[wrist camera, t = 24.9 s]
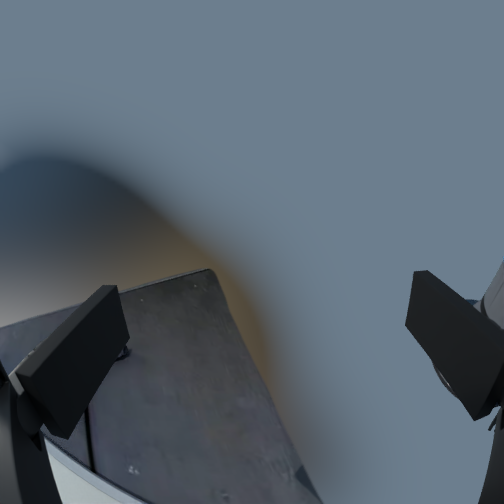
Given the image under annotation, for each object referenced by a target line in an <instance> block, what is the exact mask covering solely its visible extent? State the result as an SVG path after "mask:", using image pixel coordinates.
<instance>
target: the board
mask: <svg viewBox="0 0 504 504" xmlns="http://www.w3.org/2000/svg"><path fill="white" fill-rule="evenodd" d="M44 439H45V444H46V448H47V452H48V456H49V460H50V464H51V468H52V472H53V475H54V479H55V482H56V485H57V488H58V491H59V494H60V497H61V500H62V503H63V504H148V503H146V502H144V501H142V500H140V499H138V498H136V497H134V496H132V495H130V494H129V493H127V492H125V491H123V490H121V489H120V488H118V487H116V486H114V485H113V484H111V483H109V482H108V481H106V480H104V479H103V478H101V477H100V476H98V475H96V474H95V473H93V472H92V471H90V470H89V469H87V468H86V467H84V466H83V465H81V464H80V463H79V462H77V461H76V460H74V459H73V458H72V457H70V456H69V455H67V454H66V453H65V452H63V451H62V450H61V449H59V448H58V447H57V446H56V445H54V444H53V443H52V442H51V441H49V440H48V439H47V438H46V437H45V436H44Z"/></svg>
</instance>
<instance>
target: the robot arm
mask: <svg viewBox="0 0 504 504" xmlns="http://www.w3.org/2000/svg"><path fill="white" fill-rule="evenodd" d="M503 259H504V257H503ZM405 326H406V327H407V329H408V330H409V331H410V332H411V334H412V335H413V336H414V338H415V339H416V340H417V341H418V343H419V344H420V345H421V347H422V348H423V349H424V351H425V352H426V353H427V355H428V356H429V357H430V359H431V360H432V361H433V363H434V364H435V366H436V367H437V368H438V370H439V371H440V372H441V374H442V375H443V377H444V378H445V379H446V381H447V382H448V384H449V385H450V386H451V388H452V389H453V391H454V392H455V394H456V395H457V396H458V398H459V399H460V401H461V402H462V404H463V405H464V407H465V408H466V410H467V411H468V413H469V414H470V416H471V417H472V419H473V420H474V421H476V420H478V419H481V418H483V417H485V416H487V415H489V414H490V413H491V411H492V409H493V407H494V406H495V404H496V402H498V403H499V405H500V406H501V408H500V410H499V411H498V413H497V415H496V416H495V418H494V420H493V421H492V423H491V425H490V427H489V429H488V430H489V431H491V429H492V427H493V426H494V425H495V424H496V427H495V430H494V432H495V434H494V440H493V446H492V451H491V456H490V461H489V465H488V470H487V474H486V478H485V482H484V486H483V489H482V492H481V496H480V499H479V502H478V504H504V260H503V262H502V264H501V266H500V268H499V270H498V271H497V273H496V275H495V277H494V279H493V281H492V282H491V284H490V286H489V287H488V289H487V291H486V293H485V294H484V296H483V298H482V299H481V300H480V301H479V302H477V303H476V304H475V305H474V306H472V305H471V304H470V303H469V302H467V301H466V300H465V299H464V298H462V297H461V296H460V295H459V294H458V293H456V292H455V291H454V290H452V289H451V288H450V287H449V286H447V285H446V284H445V283H443V282H442V281H441V280H440V279H438V278H437V277H436V276H434V275H433V274H432V273H430V272H429V271H428V270H426V271H415V272H414V274H413V281H412V288H411V295H410V301H409V307H408V312H407V317H406V323H405ZM129 338H130V336H129V333H128V329H127V325H126V322H125V318H124V314H123V310H122V306H121V302H120V297H119V293H118V289H117V285H102V286H101V287H100V288H99V289H98V290H97V291H96V292H95V293H93V295H91V296H90V297H89V298H88V299H87V300H86V301H85V302H84V303H83V304H82V305H81V306H80V307H78V308H77V309H76V310H75V311H74V312H73V313H72V314H71V315H70V316H69V317H68V318H67V319H66V320H65V321H64V322H63V323H62V324H61V325H60V326H59V327H58V328H57V329H56V330H55V331H54V332H53V333H52V334H51V335H50V336H49V337H48V338H46V339H45V340H43V341H41V342H40V343H39V344H38V345H37V346H36V347H35V348H34V349H33V351H31V352H30V353H29V354H28V357H25V358H24V359H23V361H22V362H21V363H20V364H19V365H18V366H17V367H16V368H15V369H14V370H13V371H12V372H11V373H10V374H9V376H8V375H7V373H6V371H5V369H4V367H3V365H2V363H1V361H0V504H63V503H62V500H61V497H60V494H59V491H58V488H57V485H56V482H55V479H54V475H53V472H52V468H51V464H50V460H49V456H48V452H47V448H46V444H45V439H44V435H43V433H42V432H41V430H40V428H41V426H42V425H43V423H44V424H45V426H46V427H47V429H48V430H49V432H50V433H51V434H52V435H55V436H58V437H61V438H64V439H67V440H68V439H69V437H70V435H71V434H72V432H73V430H74V428H75V427H76V425H77V423H78V421H79V420H80V418H81V416H82V414H83V413H84V411H85V409H86V408H87V406H88V404H89V403H90V401H91V399H92V398H93V396H94V394H95V393H96V391H97V389H98V388H99V386H100V384H101V383H102V381H103V379H104V378H105V376H106V375H107V373H108V371H109V370H110V368H111V367H112V365H113V363H114V362H115V360H116V359H117V357H118V356H119V354H120V352H121V351H122V349H123V348H124V346H125V345H126V343H127V342H128V340H129Z"/></svg>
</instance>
